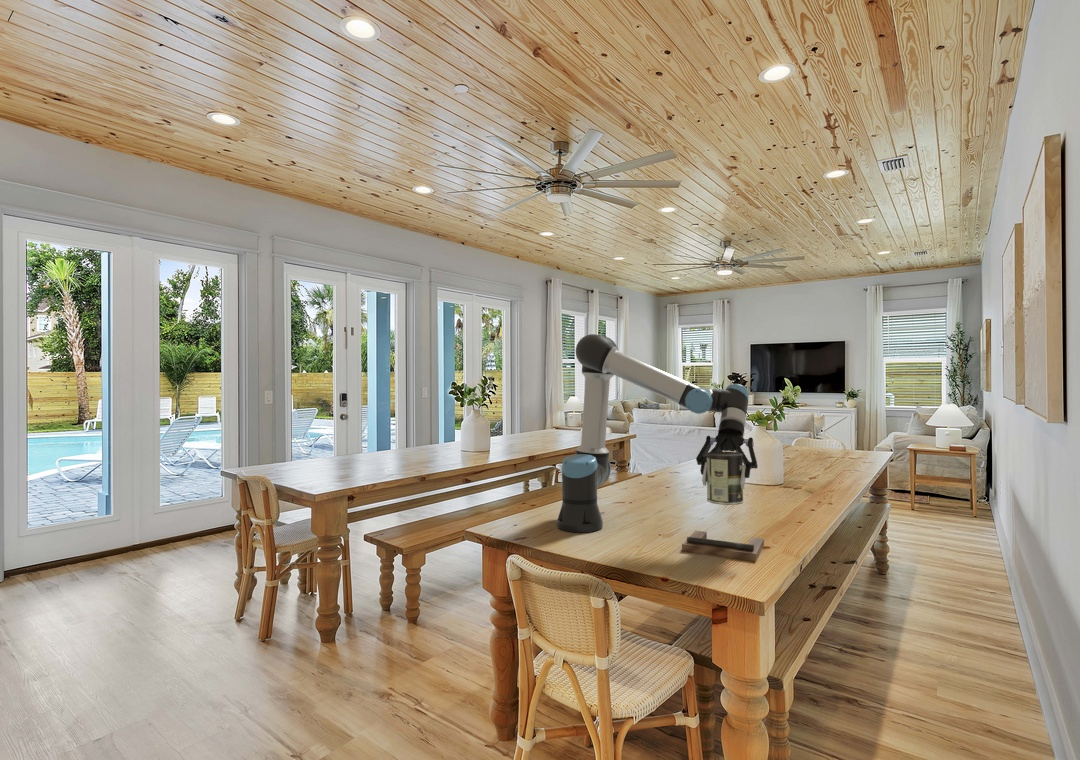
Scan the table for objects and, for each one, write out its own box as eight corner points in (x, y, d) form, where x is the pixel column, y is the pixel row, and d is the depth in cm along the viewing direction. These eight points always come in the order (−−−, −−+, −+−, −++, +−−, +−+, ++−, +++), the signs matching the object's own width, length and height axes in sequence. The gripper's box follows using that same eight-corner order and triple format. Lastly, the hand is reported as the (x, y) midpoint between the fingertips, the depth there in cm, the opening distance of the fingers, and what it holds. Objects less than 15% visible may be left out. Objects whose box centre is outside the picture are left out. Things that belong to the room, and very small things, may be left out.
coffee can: (740, 498, 170) (740, 451, 170) (746, 505, 160) (745, 456, 160) (705, 497, 172) (704, 450, 172) (708, 504, 162) (707, 455, 162)
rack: (682, 551, 162) (681, 538, 162) (695, 536, 176) (695, 525, 176) (756, 561, 152) (756, 547, 152) (763, 545, 166) (763, 533, 166)
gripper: (771, 434, 174) (765, 495, 160) (697, 432, 185) (686, 488, 171) (769, 418, 169) (763, 479, 156) (693, 416, 180) (681, 473, 166)
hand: (722, 484), depth 163 cm, fingers closed on coffee can, 10 cm apart
